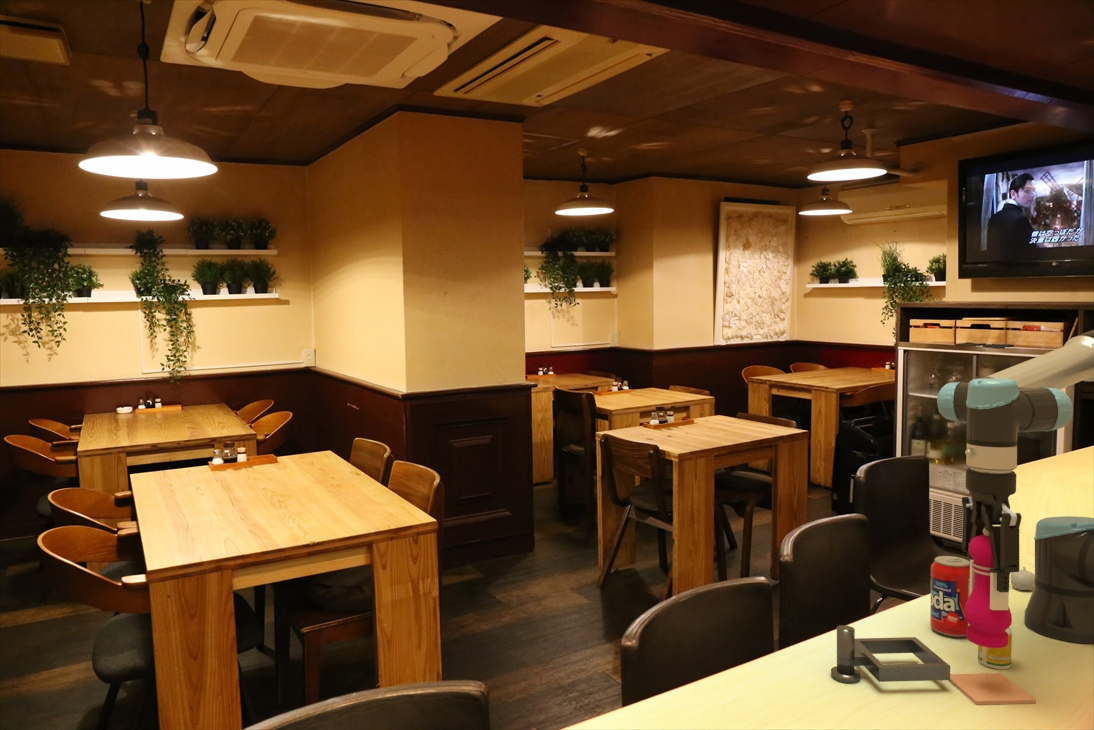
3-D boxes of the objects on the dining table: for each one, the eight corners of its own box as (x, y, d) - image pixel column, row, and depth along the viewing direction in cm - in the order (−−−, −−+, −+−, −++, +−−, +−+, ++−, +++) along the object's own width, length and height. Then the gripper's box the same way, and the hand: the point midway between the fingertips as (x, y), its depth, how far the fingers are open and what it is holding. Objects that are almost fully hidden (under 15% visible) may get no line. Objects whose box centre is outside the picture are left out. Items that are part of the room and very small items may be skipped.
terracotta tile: (999, 676, 139) (999, 672, 139) (1035, 703, 129) (1035, 699, 129) (944, 677, 139) (944, 674, 139) (976, 704, 129) (976, 701, 129)
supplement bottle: (971, 660, 146) (971, 610, 146) (992, 655, 148) (993, 606, 147) (996, 672, 141) (997, 620, 140) (1018, 667, 143) (1018, 616, 142)
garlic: (1017, 583, 188) (1018, 562, 187) (1041, 589, 183) (1042, 568, 183) (1004, 588, 184) (1005, 567, 184) (1028, 595, 180) (1029, 572, 180)
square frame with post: (915, 660, 146) (915, 613, 146) (950, 691, 134) (950, 640, 134) (819, 662, 146) (819, 615, 146) (845, 694, 134) (845, 642, 133)
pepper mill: (1018, 651, 130) (1020, 533, 129) (971, 648, 131) (972, 531, 130) (1002, 634, 137) (1003, 522, 136) (957, 631, 138) (959, 520, 137)
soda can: (982, 637, 157) (983, 564, 156) (949, 641, 155) (950, 567, 154) (953, 622, 164) (954, 553, 163) (921, 627, 162) (922, 556, 161)
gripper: (940, 460, 142) (939, 585, 143) (1001, 479, 123) (998, 623, 124) (981, 459, 142) (979, 584, 143) (1048, 479, 123) (1045, 622, 124)
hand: (988, 602), depth 133 cm, fingers closed on pepper mill, 5 cm apart
